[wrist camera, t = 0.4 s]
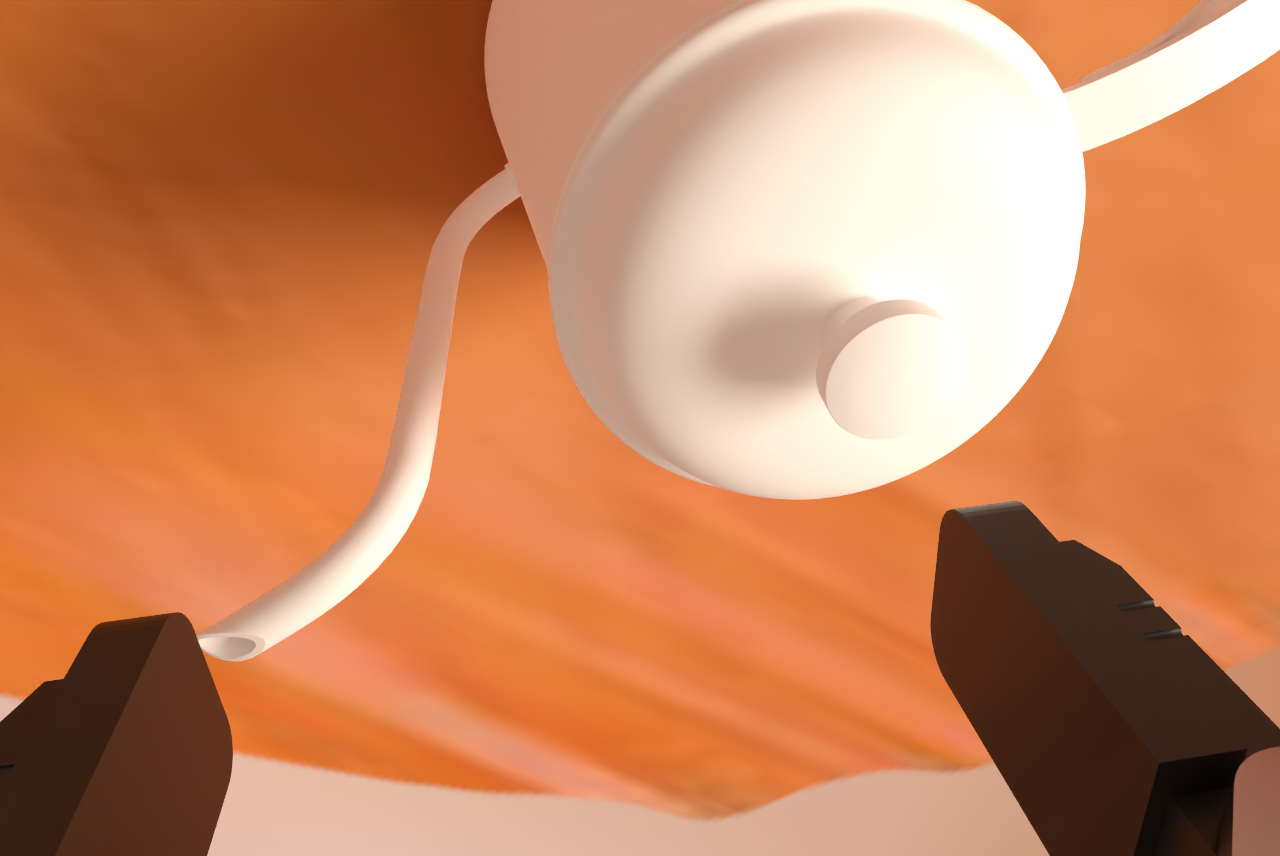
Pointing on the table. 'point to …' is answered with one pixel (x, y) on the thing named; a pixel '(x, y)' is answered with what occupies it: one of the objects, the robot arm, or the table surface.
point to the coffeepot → (776, 235)
